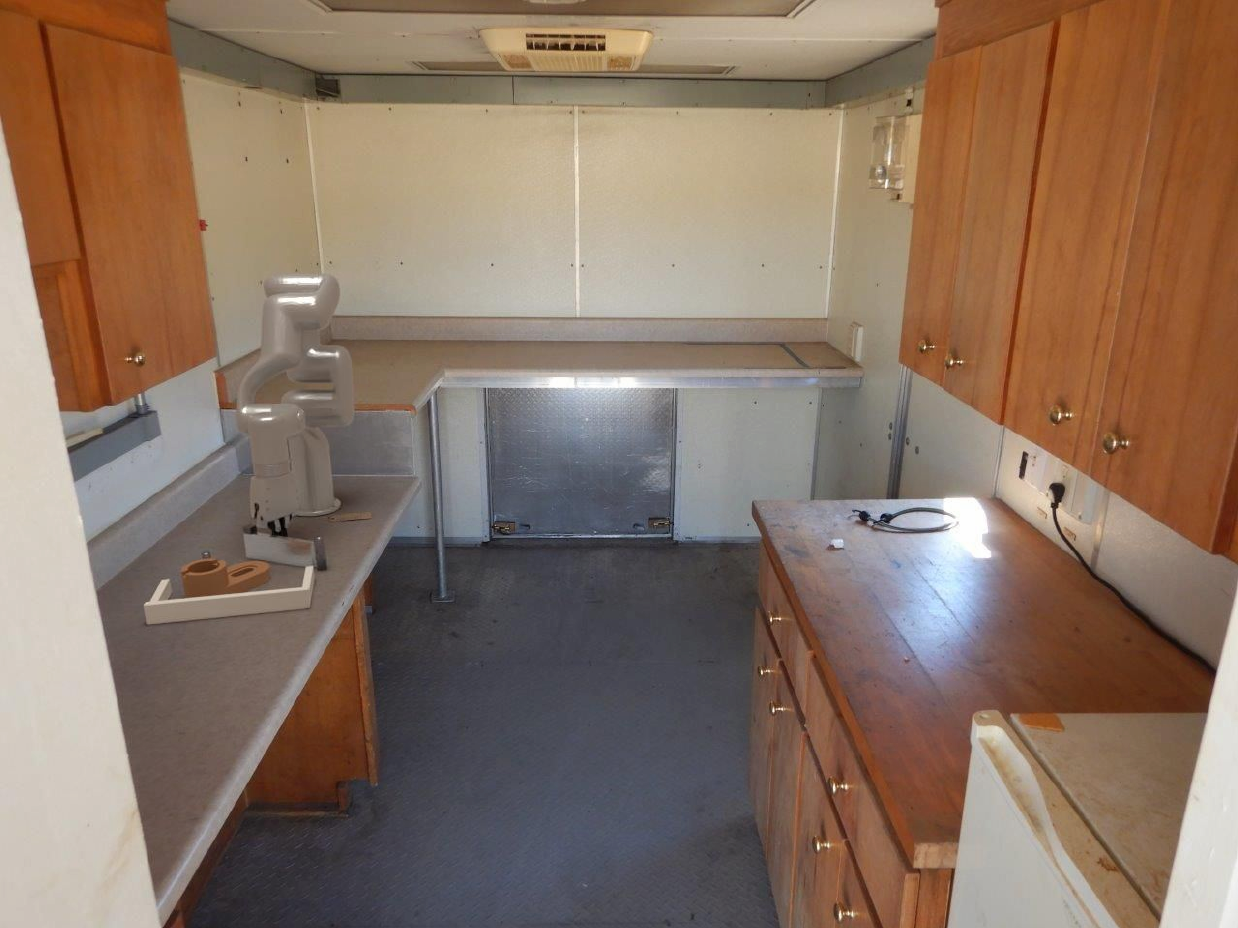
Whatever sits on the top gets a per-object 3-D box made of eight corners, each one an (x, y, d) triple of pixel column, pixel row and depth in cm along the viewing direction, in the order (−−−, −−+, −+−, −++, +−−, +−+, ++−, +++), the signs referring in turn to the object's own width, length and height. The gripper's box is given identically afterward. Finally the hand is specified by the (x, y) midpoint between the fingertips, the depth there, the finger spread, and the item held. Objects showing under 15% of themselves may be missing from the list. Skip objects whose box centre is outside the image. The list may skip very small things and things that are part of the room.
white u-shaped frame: (163, 593, 180) (160, 575, 178) (314, 578, 187) (312, 561, 185) (147, 624, 167) (143, 605, 165) (309, 607, 174) (307, 589, 173)
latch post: (206, 577, 187) (202, 551, 185) (214, 576, 187) (210, 550, 186) (204, 580, 186) (200, 554, 184) (212, 579, 186) (209, 553, 184)
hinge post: (317, 567, 192) (314, 535, 190) (327, 566, 193) (324, 535, 190) (317, 571, 190) (313, 539, 188) (326, 570, 191) (323, 538, 189)
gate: (317, 565, 193) (314, 533, 191) (311, 569, 191) (308, 537, 189) (251, 554, 199) (247, 523, 196) (245, 557, 197) (240, 526, 195)
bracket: (202, 610, 173) (197, 578, 171) (177, 600, 177) (172, 569, 175) (278, 578, 187) (275, 548, 185) (254, 569, 192) (250, 540, 189)
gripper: (287, 456, 200) (295, 531, 206) (231, 474, 188) (242, 553, 193) (310, 461, 197) (318, 537, 202) (255, 480, 184) (265, 560, 190)
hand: (281, 544), depth 198 cm, fingers closed
